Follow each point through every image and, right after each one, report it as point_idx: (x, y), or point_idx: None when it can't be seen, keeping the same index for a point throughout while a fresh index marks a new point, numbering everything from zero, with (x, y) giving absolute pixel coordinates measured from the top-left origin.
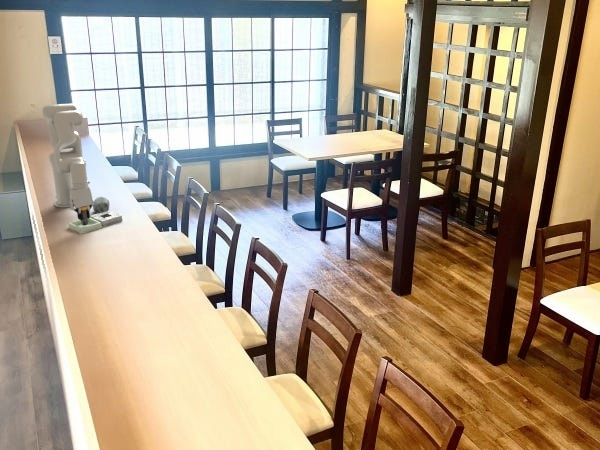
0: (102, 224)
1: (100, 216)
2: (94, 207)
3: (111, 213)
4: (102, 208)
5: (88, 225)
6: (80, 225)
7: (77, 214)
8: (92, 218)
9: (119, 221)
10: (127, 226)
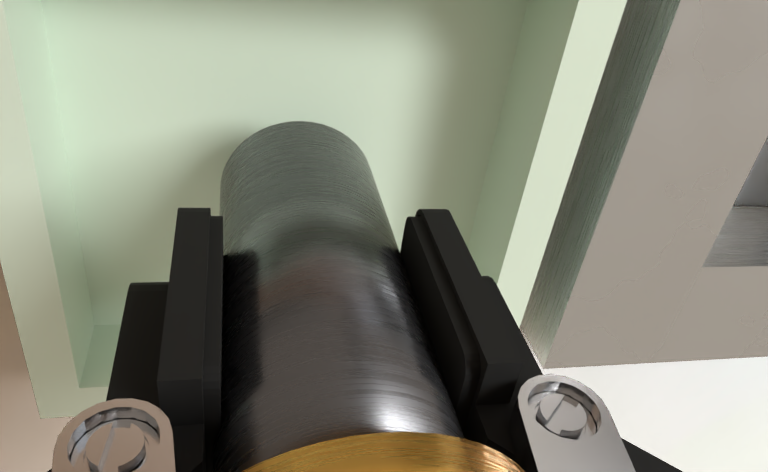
0: (524, 323)
1: (758, 149)
2: None
3: None
4: None
5: (378, 155)
6: (262, 27)
7: (111, 385)
8: (646, 23)
9: None
10: (657, 454)
